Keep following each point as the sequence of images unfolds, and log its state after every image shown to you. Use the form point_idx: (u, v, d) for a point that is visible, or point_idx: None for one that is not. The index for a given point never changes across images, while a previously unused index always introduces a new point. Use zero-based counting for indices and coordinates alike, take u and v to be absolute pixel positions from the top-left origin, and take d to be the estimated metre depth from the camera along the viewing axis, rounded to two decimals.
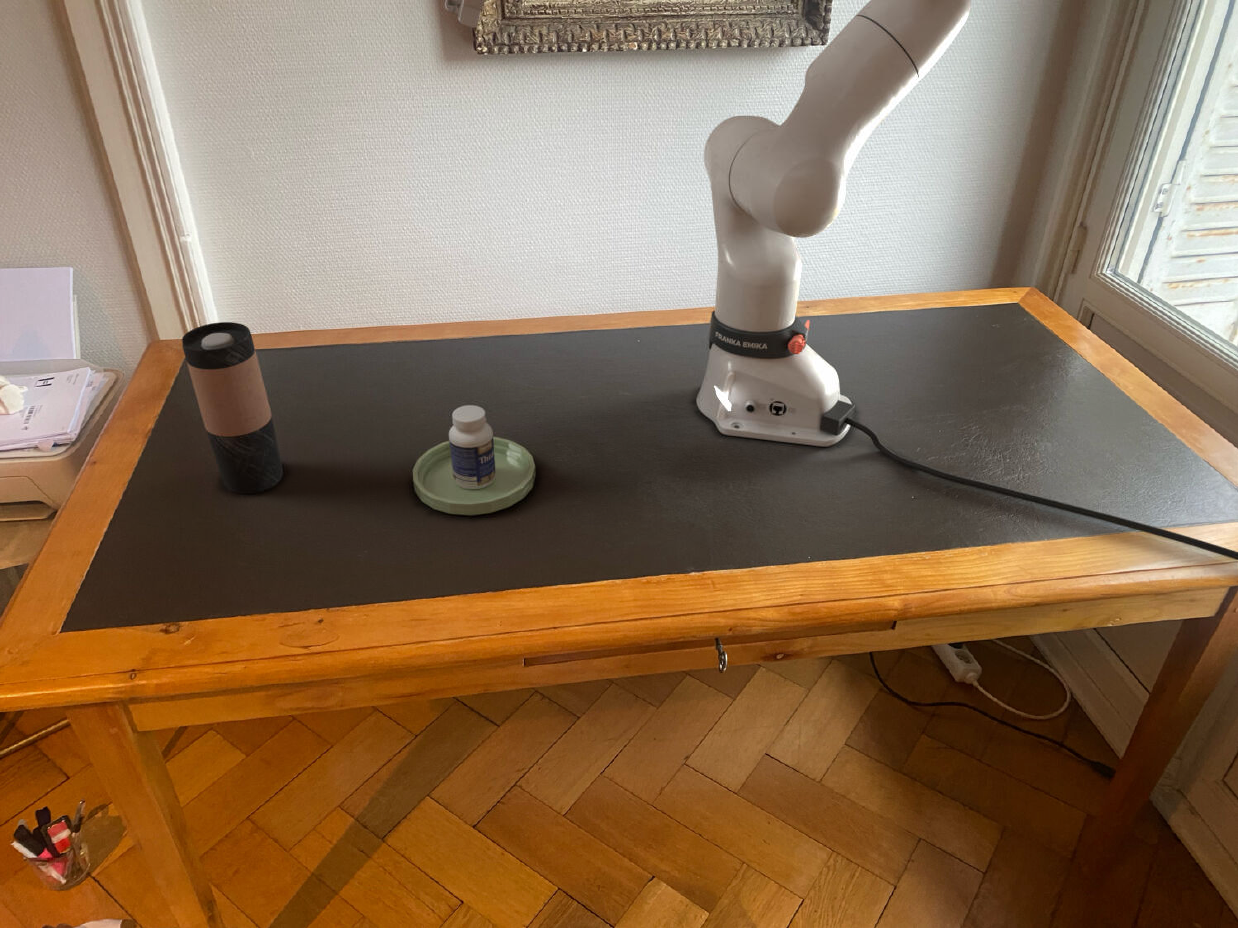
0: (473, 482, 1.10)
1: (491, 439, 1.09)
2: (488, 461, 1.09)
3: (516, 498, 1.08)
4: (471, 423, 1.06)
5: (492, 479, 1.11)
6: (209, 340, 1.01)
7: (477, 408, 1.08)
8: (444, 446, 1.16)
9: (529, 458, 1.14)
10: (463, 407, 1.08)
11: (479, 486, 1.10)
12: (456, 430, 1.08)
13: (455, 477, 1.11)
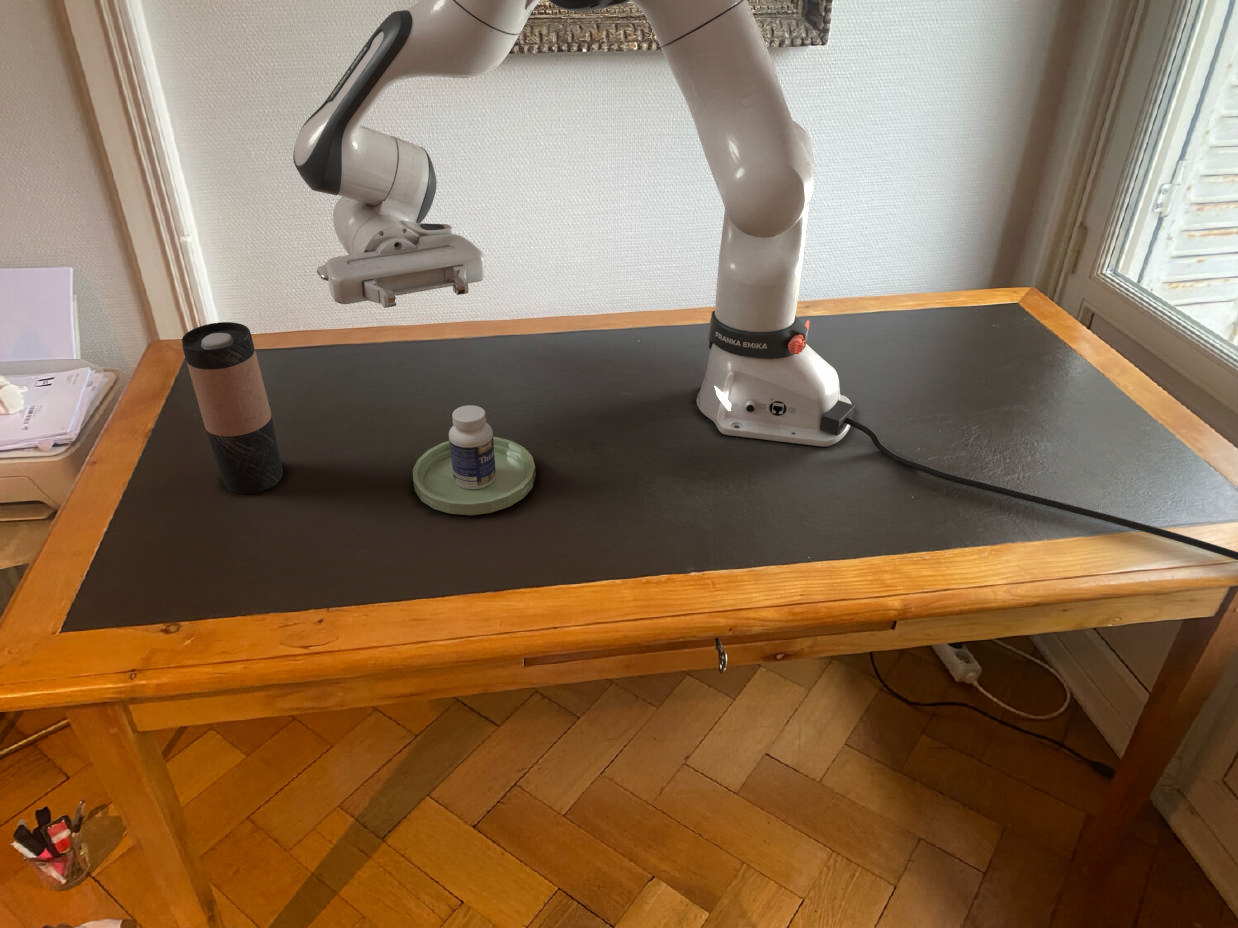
0: (473, 482, 1.10)
1: (491, 439, 1.09)
2: (488, 461, 1.09)
3: (516, 498, 1.08)
4: (471, 423, 1.06)
5: (492, 479, 1.11)
6: (208, 340, 1.01)
7: (477, 408, 1.08)
8: (444, 446, 1.16)
9: (529, 458, 1.14)
10: (463, 407, 1.08)
11: (479, 486, 1.10)
12: (456, 430, 1.08)
13: (455, 477, 1.11)
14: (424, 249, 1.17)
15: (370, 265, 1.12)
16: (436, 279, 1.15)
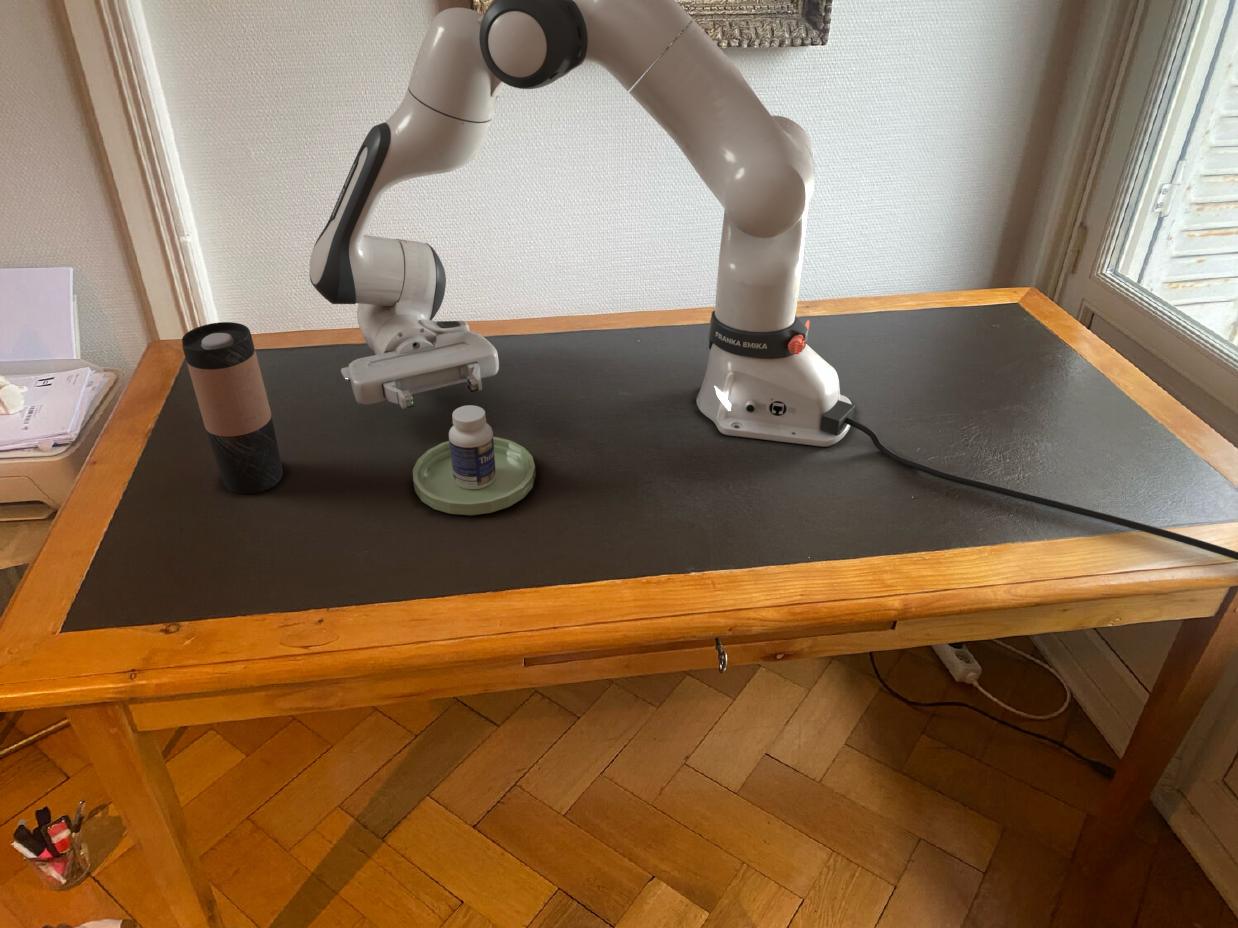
0: (473, 482, 1.10)
1: (491, 439, 1.09)
2: (488, 461, 1.09)
3: (516, 498, 1.08)
4: (471, 423, 1.06)
5: (492, 479, 1.11)
6: (208, 340, 1.01)
7: (477, 408, 1.08)
8: (444, 446, 1.16)
9: (529, 458, 1.14)
10: (463, 407, 1.08)
11: (479, 486, 1.10)
12: (456, 430, 1.08)
13: (455, 477, 1.11)
14: (441, 347, 1.24)
15: (390, 367, 1.18)
16: (452, 376, 1.22)
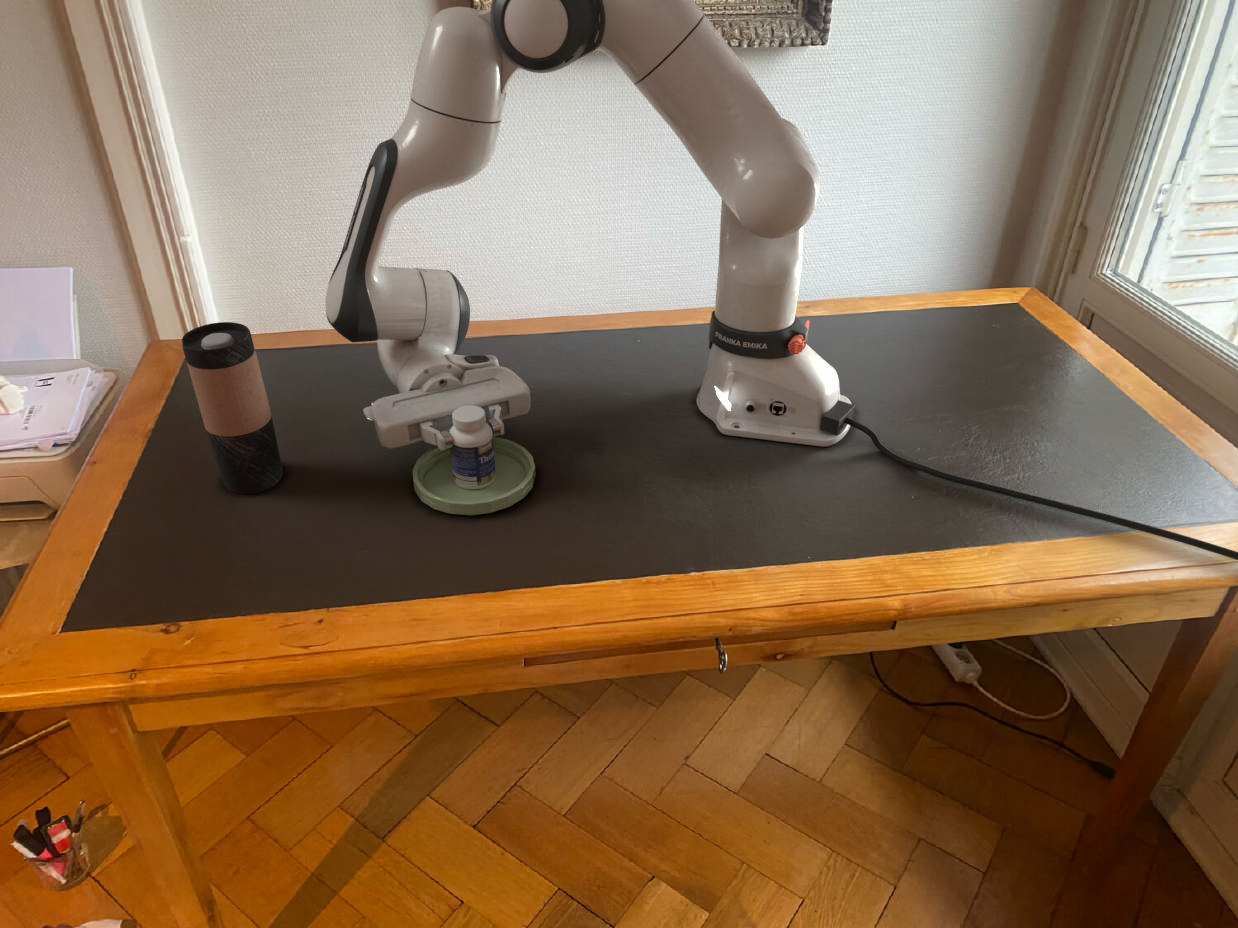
0: (473, 482, 1.10)
1: (491, 439, 1.09)
2: (488, 461, 1.09)
3: (516, 498, 1.08)
4: (471, 423, 1.06)
5: (492, 479, 1.11)
6: (208, 340, 1.01)
7: (477, 408, 1.08)
8: None
9: (529, 458, 1.14)
10: (462, 407, 1.08)
11: (479, 486, 1.10)
12: (456, 430, 1.08)
13: (455, 477, 1.11)
14: (469, 384, 1.16)
15: (416, 407, 1.11)
16: None
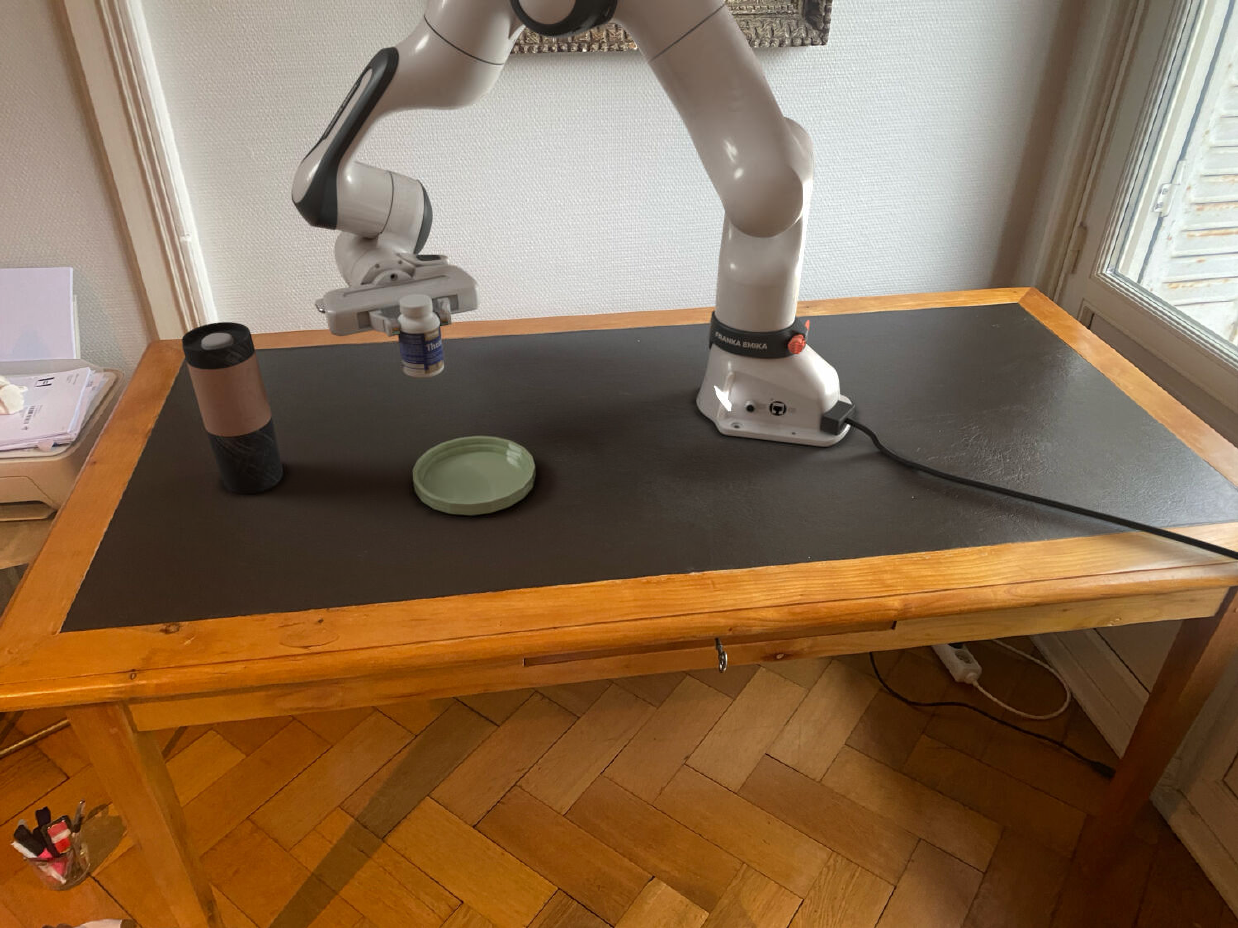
0: (421, 370, 1.13)
1: (438, 327, 1.12)
2: (435, 349, 1.12)
3: (516, 498, 1.08)
4: (417, 309, 1.09)
5: (440, 369, 1.15)
6: (208, 340, 1.01)
7: (424, 296, 1.11)
8: (444, 446, 1.16)
9: (529, 458, 1.14)
10: (410, 296, 1.11)
11: (427, 374, 1.13)
12: (403, 317, 1.11)
13: (403, 366, 1.14)
14: (420, 280, 1.19)
15: (366, 297, 1.14)
16: None
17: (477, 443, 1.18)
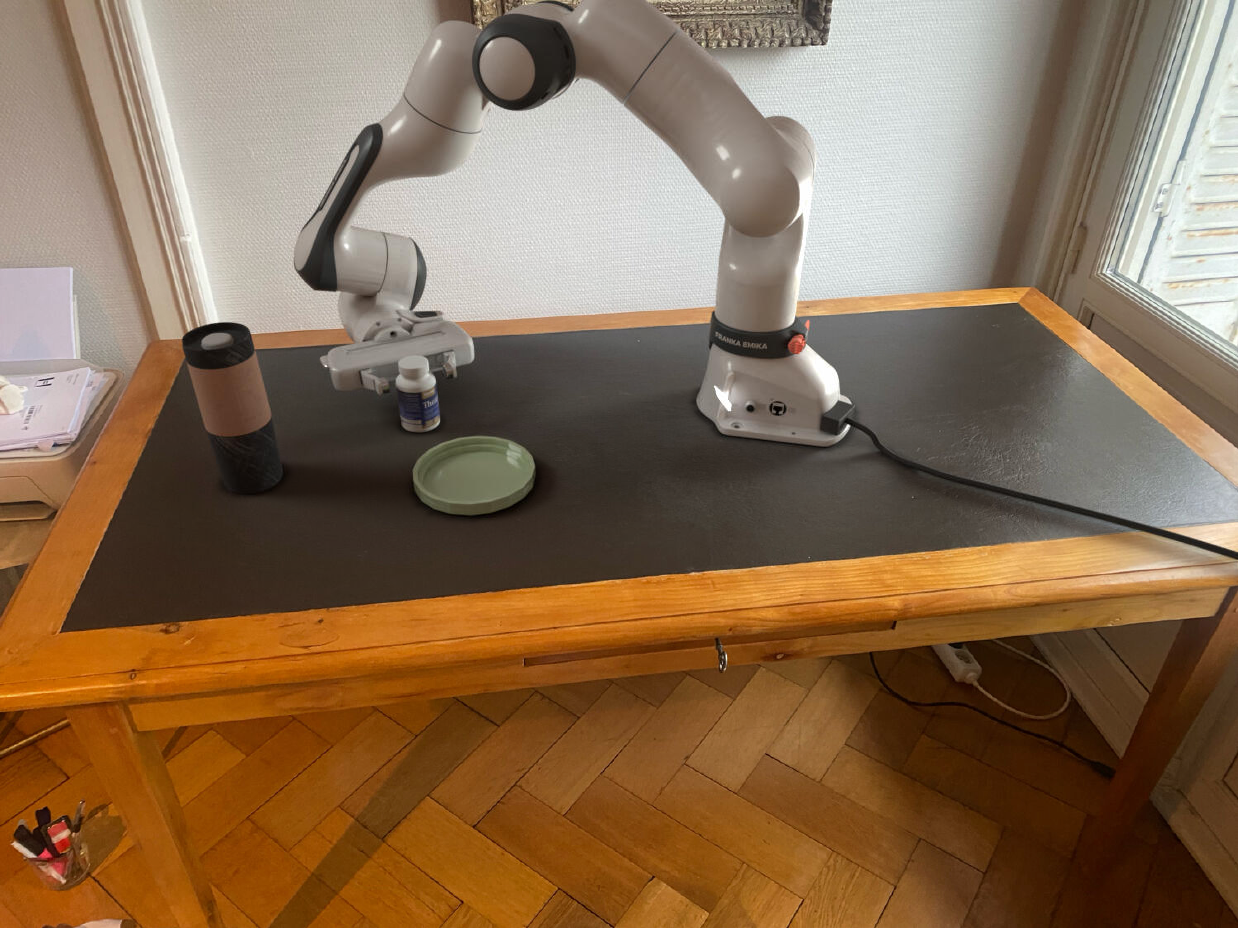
0: (418, 425, 1.21)
1: (434, 386, 1.20)
2: (431, 406, 1.21)
3: (516, 498, 1.08)
4: (414, 370, 1.18)
5: (436, 423, 1.23)
6: (208, 340, 1.01)
7: (421, 358, 1.20)
8: (444, 446, 1.16)
9: (529, 458, 1.14)
10: (408, 357, 1.20)
11: (424, 429, 1.22)
12: (402, 377, 1.19)
13: (402, 421, 1.22)
14: (418, 336, 1.27)
15: (367, 355, 1.22)
16: None
17: (477, 443, 1.18)
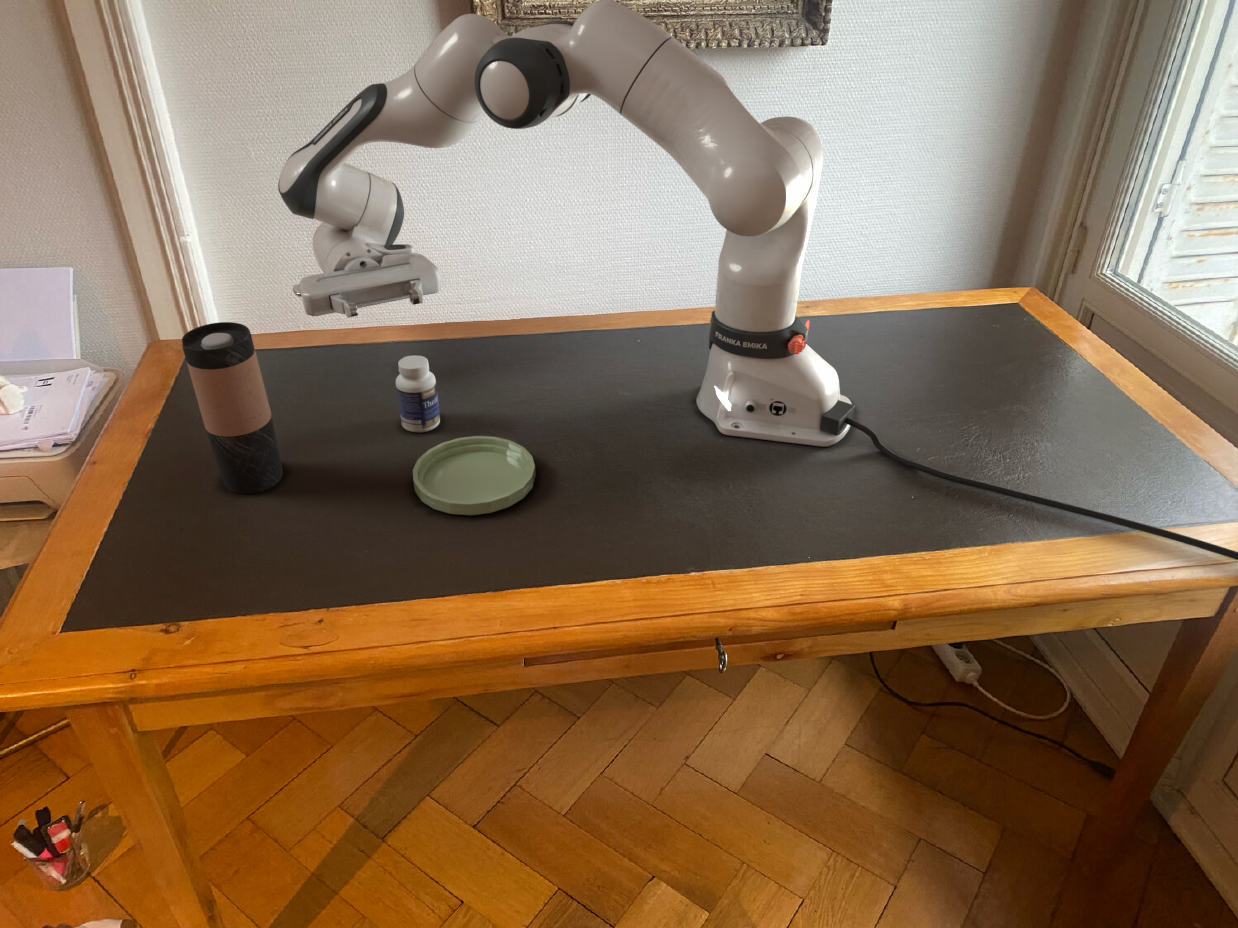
0: (418, 425, 1.21)
1: (434, 386, 1.20)
2: (431, 406, 1.21)
3: (516, 498, 1.08)
4: (414, 370, 1.18)
5: (436, 423, 1.23)
6: (208, 340, 1.01)
7: (421, 358, 1.20)
8: (444, 446, 1.16)
9: (529, 458, 1.14)
10: (408, 357, 1.20)
11: (424, 429, 1.22)
12: (402, 377, 1.19)
13: (402, 421, 1.22)
14: (386, 266, 1.33)
15: (337, 282, 1.28)
16: (396, 292, 1.31)
17: (477, 443, 1.18)
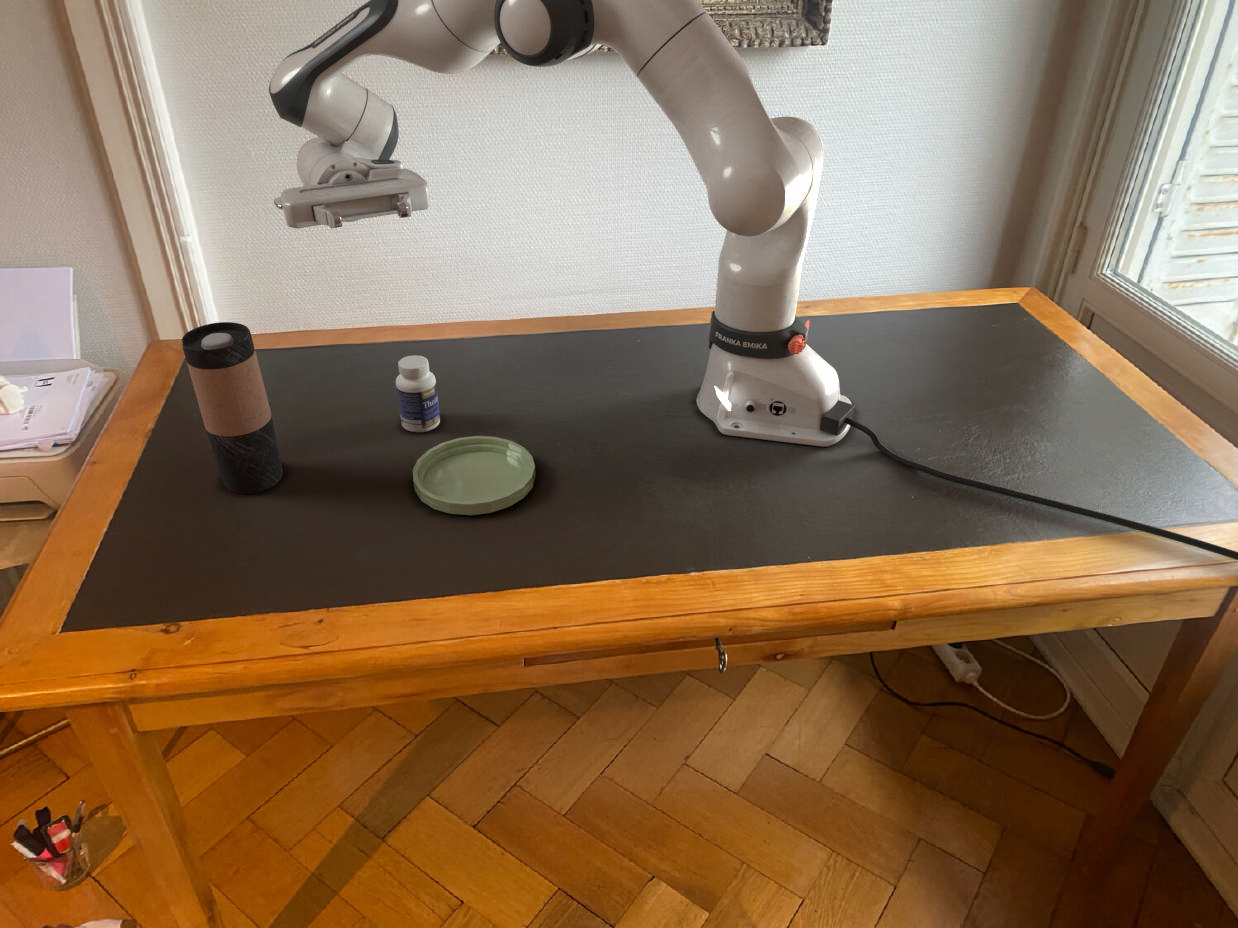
0: (418, 425, 1.21)
1: (434, 386, 1.20)
2: (431, 406, 1.21)
3: (516, 498, 1.08)
4: (414, 370, 1.18)
5: (436, 423, 1.23)
6: (208, 340, 1.01)
7: (421, 358, 1.20)
8: (444, 446, 1.16)
9: (529, 458, 1.14)
10: (408, 357, 1.20)
11: (424, 429, 1.22)
12: (402, 377, 1.19)
13: (402, 421, 1.22)
14: (374, 181, 1.26)
15: (321, 193, 1.21)
16: (383, 206, 1.24)
17: (477, 443, 1.18)
